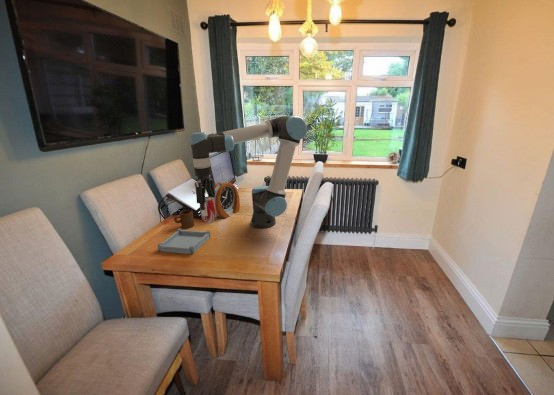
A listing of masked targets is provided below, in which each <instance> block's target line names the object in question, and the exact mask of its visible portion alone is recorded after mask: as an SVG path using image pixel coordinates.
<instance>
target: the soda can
mask: <svg viewBox="0 0 554 395" xmlns="http://www.w3.org/2000/svg"><path fill="white" fill-rule="evenodd" d="M205 203H206V206H207V214H208V216H202V214H201V213H200V216H201V221H202V222H203V223H205V224H211V223H214V222H215V221H216V220H217V217H216V210H215V203H214V200H213V199H212V197H208V196H205ZM199 209H200V211H201V207H200V206H199Z"/></svg>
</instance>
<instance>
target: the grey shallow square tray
mask: <svg viewBox="0 0 554 395" xmlns="http://www.w3.org/2000/svg"><path fill="white" fill-rule="evenodd" d="M210 238H211V231H210V230H206V231H202V230H188V229H187V230H186V229H182V228H178V229H177V231H175V233H173V234H172V235H170V236H169V237H168V238H166V239H165V240H164V241H162V242H158V244H157V248H158V252H165V253H173V254H175V253H176V254H186V255H194V254H195V253H196V252H197V251H198V250H199V249H200V248H201V247H202V246H203V245H204V244H205V243H206V242H207V241H208V240H209V239H210Z"/></svg>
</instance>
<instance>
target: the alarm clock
mask: <svg viewBox="0 0 554 395" xmlns="http://www.w3.org/2000/svg"><path fill="white" fill-rule="evenodd" d="M214 190H215V197H213V200H214V203H215V210H216V218H218V217H219V218H221V219H228V218H230V217H231V214H237V213H239V212H240V208H241V198H240V195H239V191H238V189H237V187H236V186H235V184H233V183H231V182H228V181H227V180H223V181H222V180H221V181H219V182H217V183H215V184H214Z"/></svg>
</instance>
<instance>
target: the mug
mask: <svg viewBox="0 0 554 395" xmlns="http://www.w3.org/2000/svg"><path fill="white" fill-rule="evenodd" d="M178 218H179V219H178ZM194 218H195V217H194V213H193V210H192V209H185V210H181V211H179V214H178V215H175V216H174V217H173V220H174V222H175V223H176V224H180V225H181V229H191V228H193V227H194V226H195V219H194Z"/></svg>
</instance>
